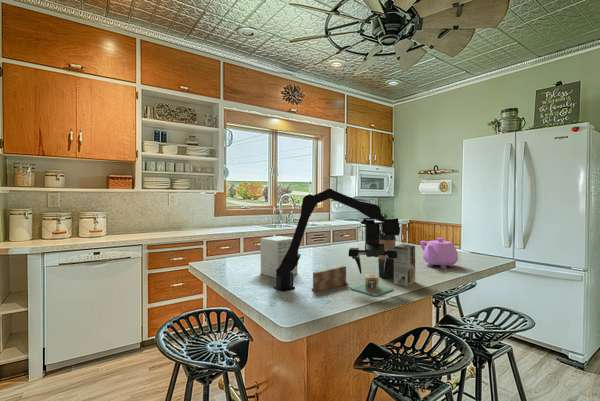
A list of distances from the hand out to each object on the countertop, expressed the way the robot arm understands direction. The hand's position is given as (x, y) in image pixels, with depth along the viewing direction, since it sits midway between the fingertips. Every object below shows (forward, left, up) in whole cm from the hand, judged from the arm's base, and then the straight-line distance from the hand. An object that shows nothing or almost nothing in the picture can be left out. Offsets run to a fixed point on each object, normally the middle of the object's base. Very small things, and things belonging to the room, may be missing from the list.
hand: (372, 274), depth 127 cm
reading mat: (0, 0, -6) cm, 6 cm away
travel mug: (+22, +8, -7) cm, 24 cm away
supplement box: (-12, +46, -7) cm, 48 cm away
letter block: (0, 0, -6) cm, 6 cm away
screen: (-10, +14, -6) cm, 18 cm away
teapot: (+61, +4, -7) cm, 61 cm away
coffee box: (+19, -3, -7) cm, 20 cm away
